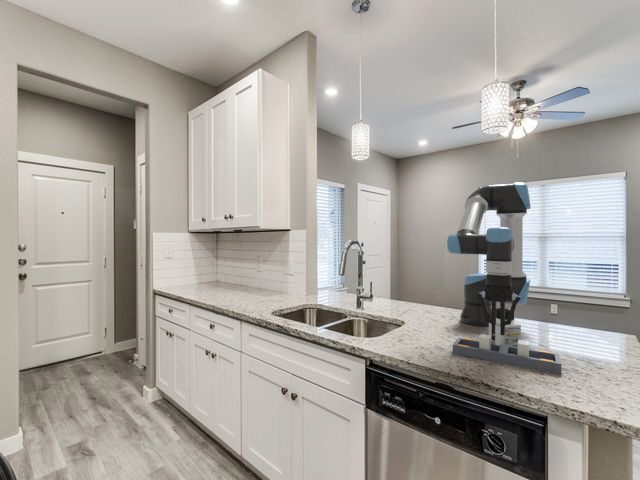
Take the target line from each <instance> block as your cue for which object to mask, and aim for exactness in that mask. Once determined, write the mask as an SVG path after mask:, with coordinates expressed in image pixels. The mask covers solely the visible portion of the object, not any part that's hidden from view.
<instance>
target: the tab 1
mask: <svg viewBox="0 0 640 480" xmlns="http://www.w3.org/2000/svg"><path fill="white" fill-rule="evenodd" d="M478 339H479V340H478V341H479V348H480V349H485V350H491V343H492V341H491V335H489V334H485V333H481V334H480V336H479V338H478Z"/></svg>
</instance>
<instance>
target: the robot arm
mask: <svg viewBox="0 0 640 480" xmlns="http://www.w3.org/2000/svg"><path fill="white" fill-rule="evenodd" d="M530 200H531V199H530V194H529V187H528V184H526V183H525V182H512V183H510V182H509V183H501V184H500V183H499V184H488V185H484V186H482V187H479V188H477V189H476V190H474V191H473V192H472V193H470V194H469V196H468V197H467V198H466V201H465V203H464V213H463V215H462V218H461V221H460V224H459V227H458V229H457V232H456V233H452V234H449V235H448V236H447V240H446V241H447V243H446V245H447V251H448V252H449V253H450V254H455V255H456V254H457V255H485V256H486V257H485V272H486V273H482V272H481V273H473V274H467V275H466V276H465V277H464V284H463V286H464V287H463V288H464V292H463V293H464V294H463V295H464V297H463V299H464V301H463V302H464V303H463V308H462V310H461V313H460V315H459V318H460V319H459V321H460V322H461V323H464V324H466V325H471V326H478V327H489V323H491V325H492V334H495V345H499V346H500V345H501V335H504V334H505V325H510V324H511V321H512V318H513V315H514V312H516V311H515V310H516V308H517V305H519V306H520V305H522V306H524V305H526V304H527V302H528V297H529V291H530V284H531V279H529V278H527V273H525V272H524V271H523V243H524V242H523V238H524V237H523V235H524V234H523V232H524V231H523V226H524V225H523V221H524V220H523V218H524V217H525V216H526V215H527V214H528V213H527V210H531V208H532V207H531V201H530ZM489 211H495V212H496V215H497V216H498V217H499V220H500V221H499V222H500V223H499V226H500V227H489V228H487V229H486V232H485V233H486V234H479V232H480V229H481V224H482V220H483V218H484V214H485V213H486V212H489ZM497 303H499V308H500V324H496V309H497ZM506 304H509V305H511V306H510V308H509V309H510V313H509V316H508V319H507V320H506V321H505V308H506Z"/></svg>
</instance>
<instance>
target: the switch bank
mask: <svg viewBox="0 0 640 480" xmlns="http://www.w3.org/2000/svg"><path fill="white" fill-rule="evenodd" d="M452 354H453V355H457V356H458V355H459V356H463V357H469V358H474V359H480V360H485V361H490V362H494V363H500V364H506V365H510V366H516V367H521V368H522V367H523V368H527V369H532V370H538V371H541V372H548V373H551V374H552V373H553V374H558V375H562V361H561V356H560V354H559V353H554V352H551V351H546V350H536V349H530V348H529V357H525V356H520V355H518V346H507V345H500V346H499V345H495V343H494V342H491V350H485V349H480V348H479V340H474V338H467V337H457V338H456V340H455V341H454V342H453V343H452Z"/></svg>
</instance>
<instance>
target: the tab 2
mask: <svg viewBox="0 0 640 480" xmlns="http://www.w3.org/2000/svg"><path fill="white" fill-rule="evenodd" d="M517 347H518V355H520V356H525V357H529V349H530V341H529V340H525V339H523V340H522V339H521V340H518V345H517Z"/></svg>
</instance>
